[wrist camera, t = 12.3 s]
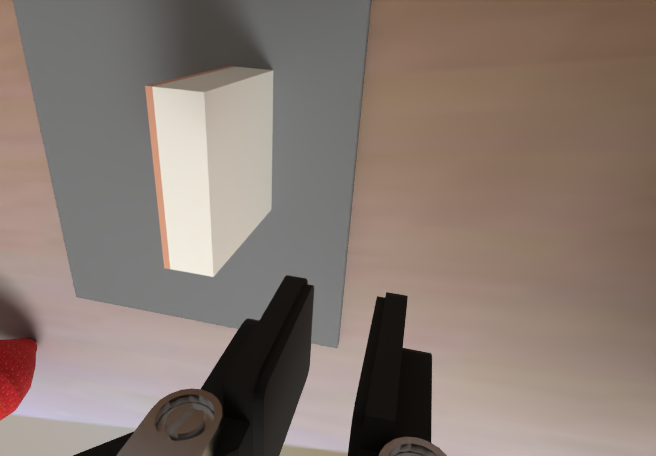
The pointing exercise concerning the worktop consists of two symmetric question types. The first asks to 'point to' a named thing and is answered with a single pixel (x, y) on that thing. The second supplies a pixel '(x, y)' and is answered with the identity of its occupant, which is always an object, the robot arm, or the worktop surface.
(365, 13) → the mat
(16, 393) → the strawberry
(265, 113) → the tile
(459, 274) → the worktop surface
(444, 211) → the worktop surface
